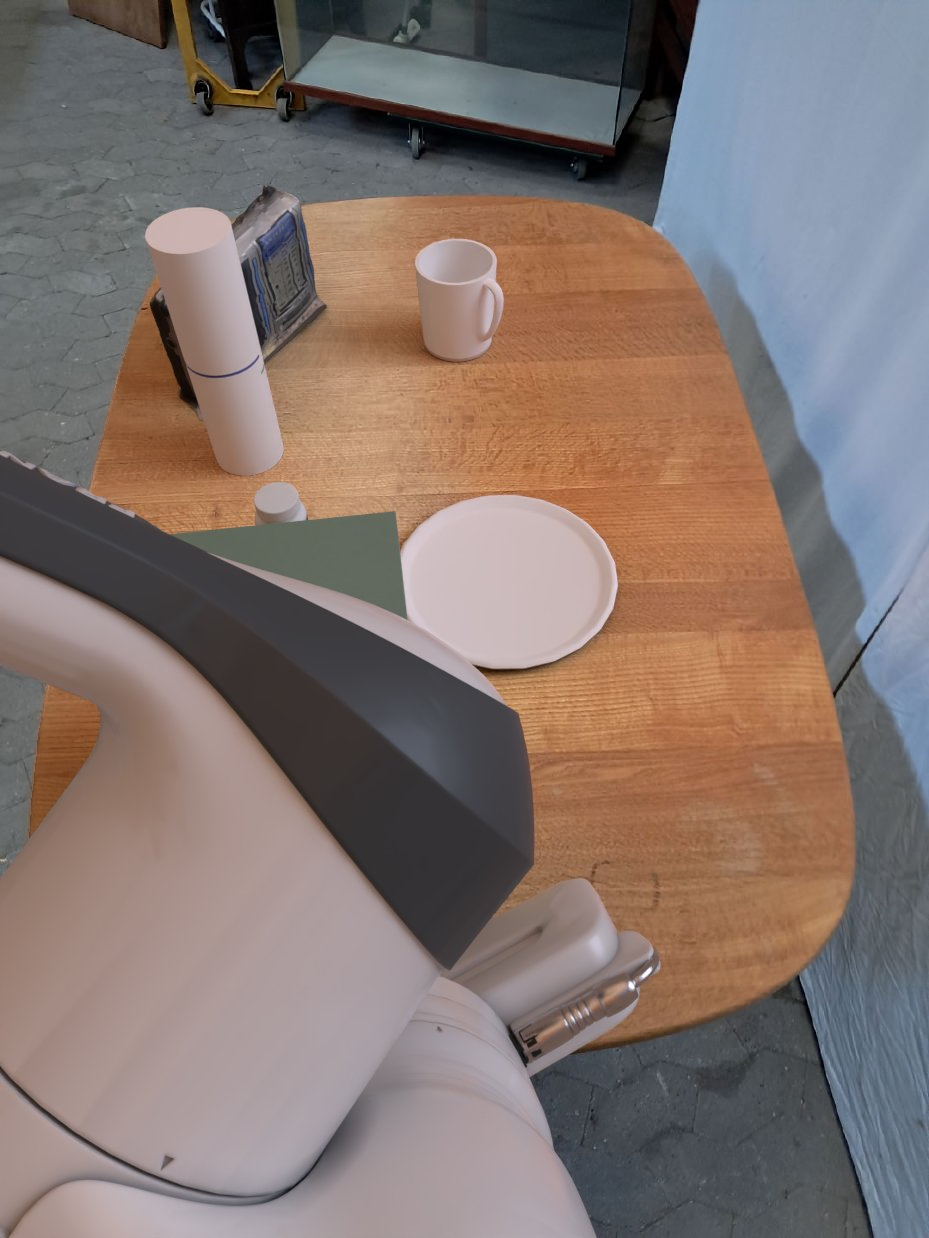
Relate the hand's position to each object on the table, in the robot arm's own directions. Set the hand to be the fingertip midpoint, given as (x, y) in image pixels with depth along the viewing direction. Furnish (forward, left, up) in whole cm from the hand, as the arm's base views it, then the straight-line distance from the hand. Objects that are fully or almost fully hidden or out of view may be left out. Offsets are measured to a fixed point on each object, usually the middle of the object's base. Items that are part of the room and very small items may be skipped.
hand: (387, 981), depth 43 cm
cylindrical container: (+35, +52, -21) cm, 66 cm away
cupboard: (+13, +22, -21) cm, 33 cm away
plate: (+37, +20, -21) cm, 47 cm away
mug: (+63, +45, -21) cm, 80 cm away
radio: (+47, +64, -21) cm, 82 cm away
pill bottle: (+27, +38, -21) cm, 51 cm away
